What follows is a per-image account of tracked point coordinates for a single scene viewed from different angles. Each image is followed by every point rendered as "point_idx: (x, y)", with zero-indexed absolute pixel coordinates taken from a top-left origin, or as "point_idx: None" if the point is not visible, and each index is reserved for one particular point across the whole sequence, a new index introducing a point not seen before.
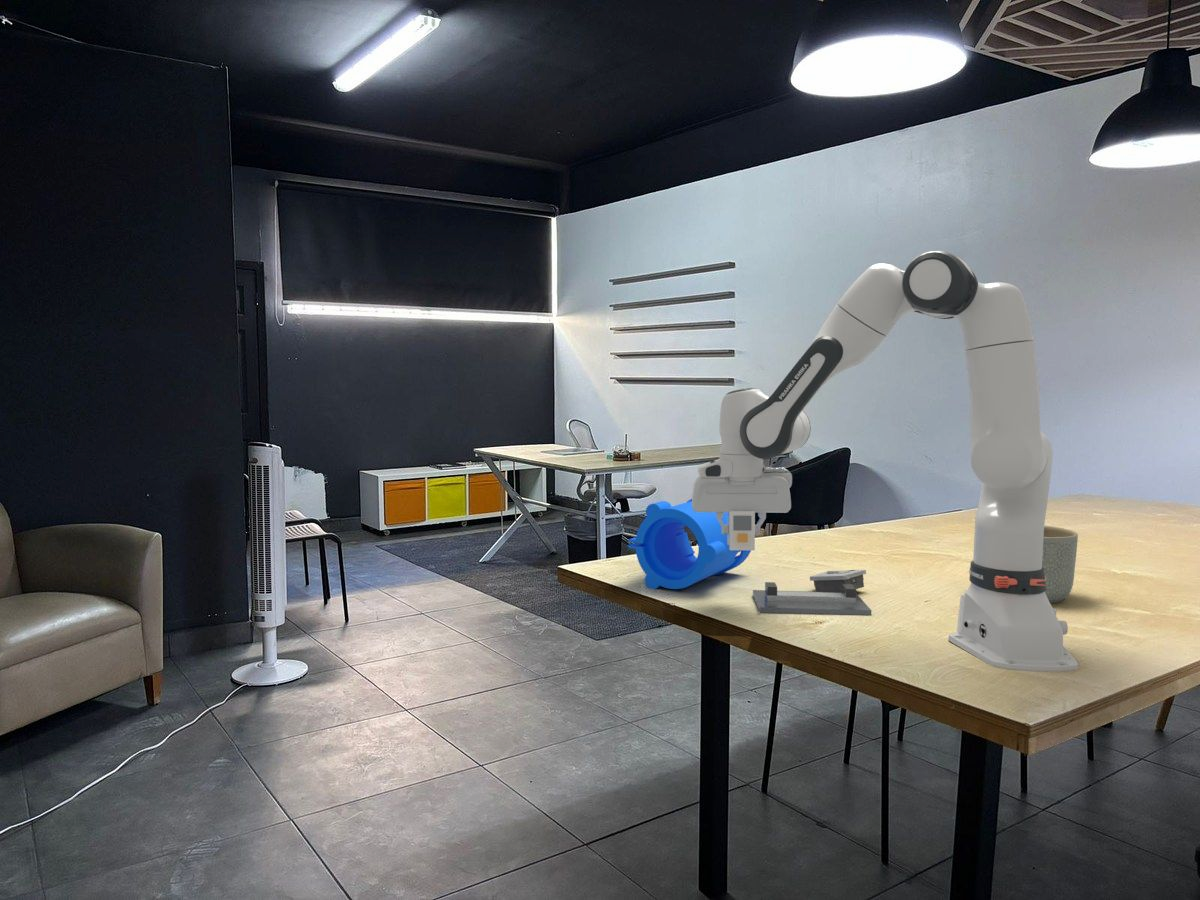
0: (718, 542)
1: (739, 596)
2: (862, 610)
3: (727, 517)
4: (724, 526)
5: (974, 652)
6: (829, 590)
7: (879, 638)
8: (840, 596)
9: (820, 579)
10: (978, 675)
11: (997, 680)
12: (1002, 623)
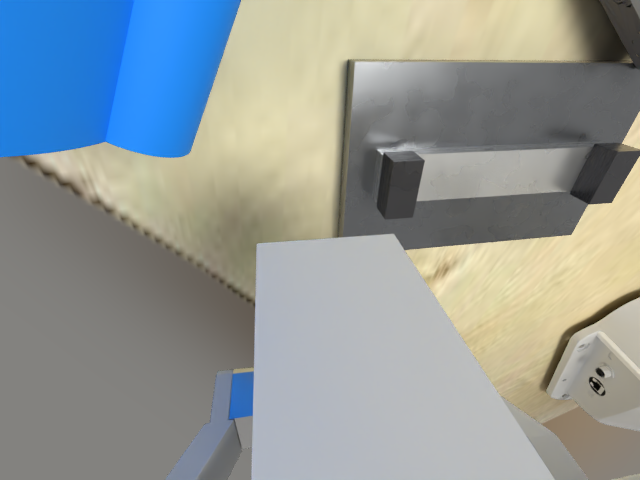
0: (174, 3)
1: (302, 57)
2: (554, 235)
3: (255, 412)
4: (238, 445)
5: (557, 376)
6: (617, 21)
7: (496, 323)
8: (562, 185)
9: (634, 2)
10: (521, 394)
11: (528, 399)
12: (605, 423)
